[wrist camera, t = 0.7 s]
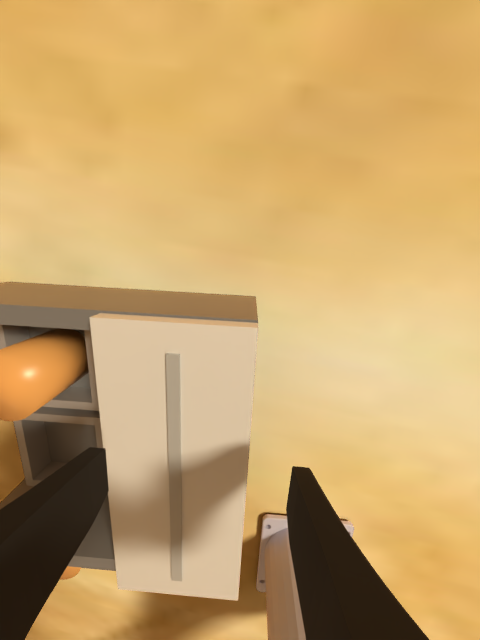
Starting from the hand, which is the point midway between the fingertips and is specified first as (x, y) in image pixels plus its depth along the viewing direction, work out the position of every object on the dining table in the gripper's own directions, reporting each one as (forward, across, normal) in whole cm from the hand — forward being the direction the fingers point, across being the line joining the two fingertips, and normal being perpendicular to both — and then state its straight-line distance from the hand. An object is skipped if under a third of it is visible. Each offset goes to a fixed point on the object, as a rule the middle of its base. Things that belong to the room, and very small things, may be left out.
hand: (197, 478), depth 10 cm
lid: (+3, +2, +3) cm, 5 cm away
